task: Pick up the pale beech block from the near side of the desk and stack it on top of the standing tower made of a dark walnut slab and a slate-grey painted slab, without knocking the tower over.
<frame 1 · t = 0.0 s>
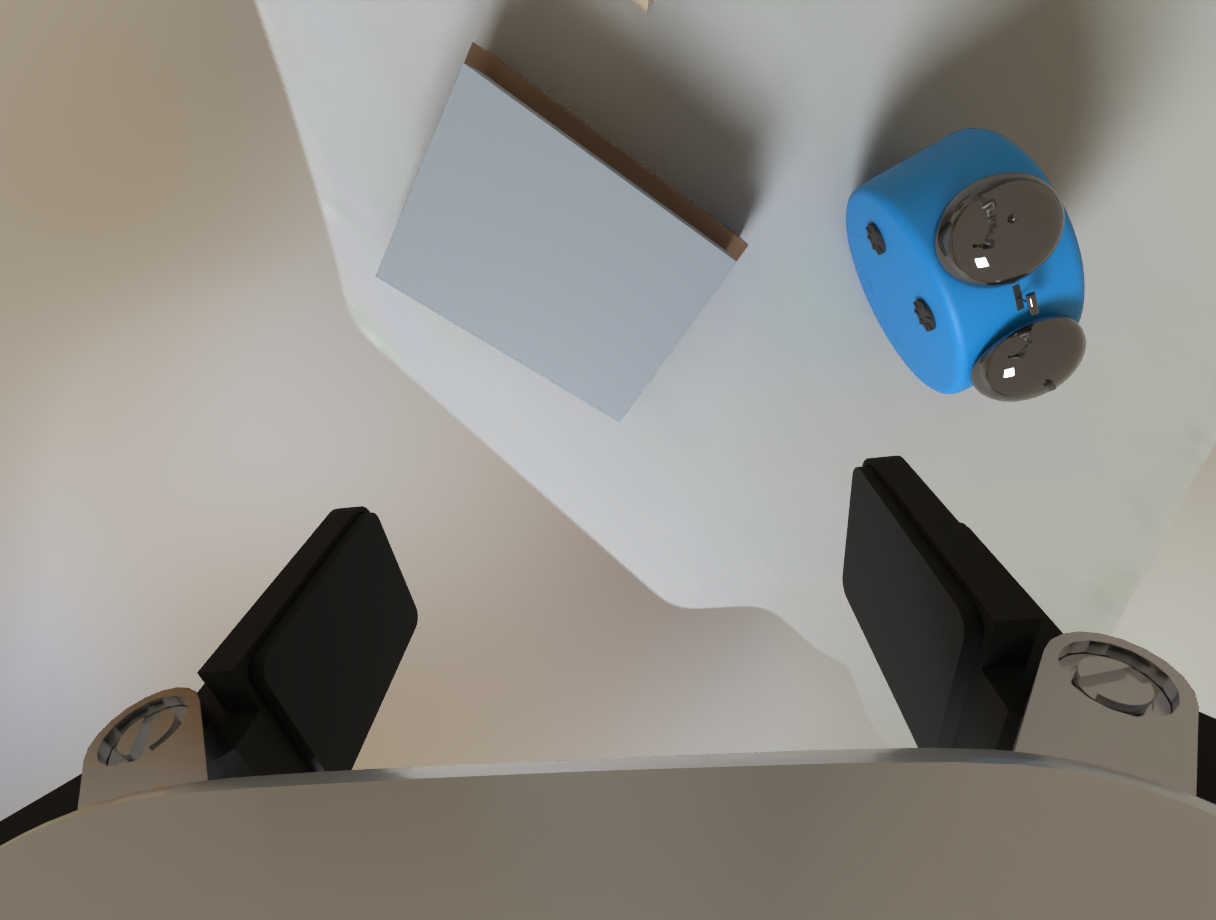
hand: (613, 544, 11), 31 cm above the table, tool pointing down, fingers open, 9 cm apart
walnut slab: (567, 247, 38), on the table, touching slate slab
slate slab: (560, 257, 35), point 3 cm above the table, touching walnut slab
alarm clock: (895, 251, 37), on the table
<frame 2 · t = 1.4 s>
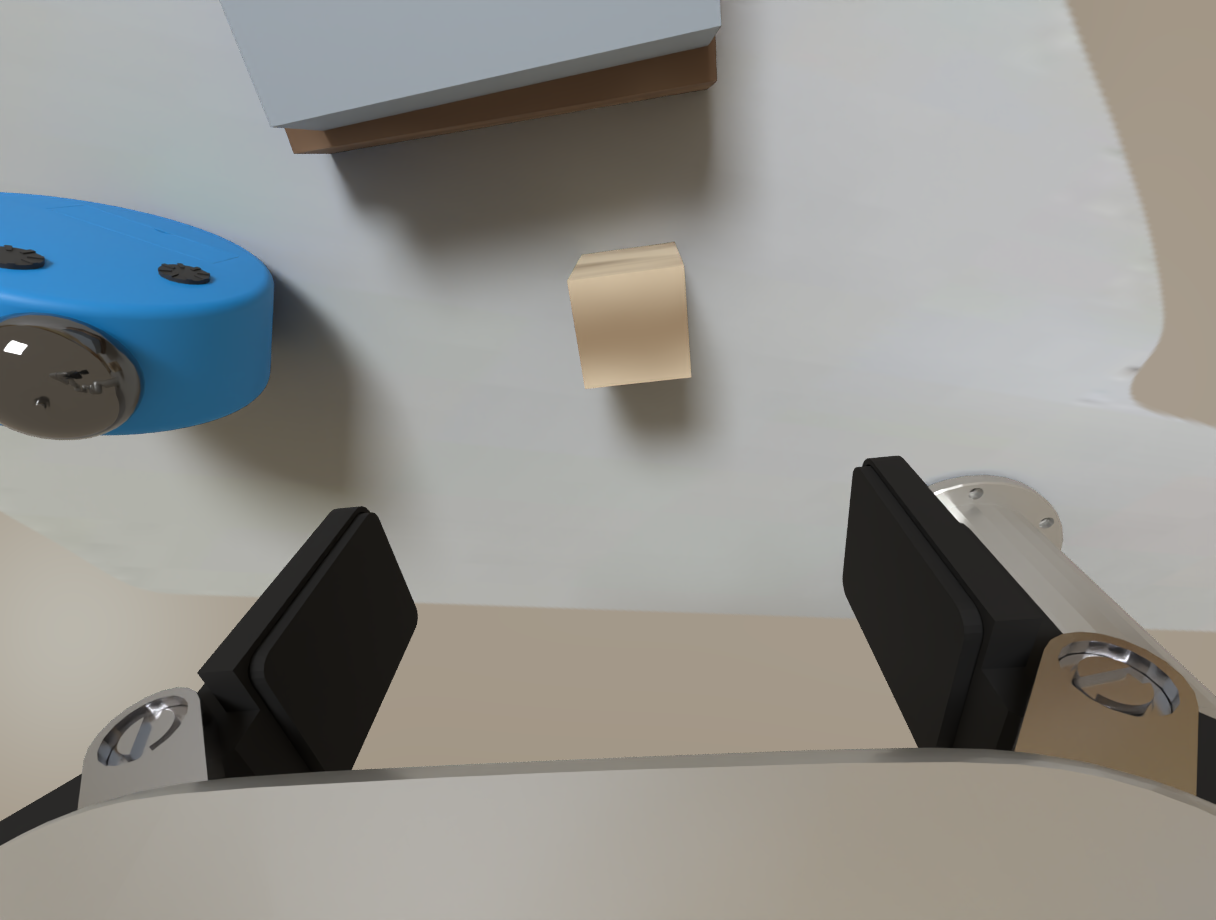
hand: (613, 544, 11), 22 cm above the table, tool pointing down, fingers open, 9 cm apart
alarm clock: (208, 277, 31), on the table
beech block: (632, 295, 30), on the table
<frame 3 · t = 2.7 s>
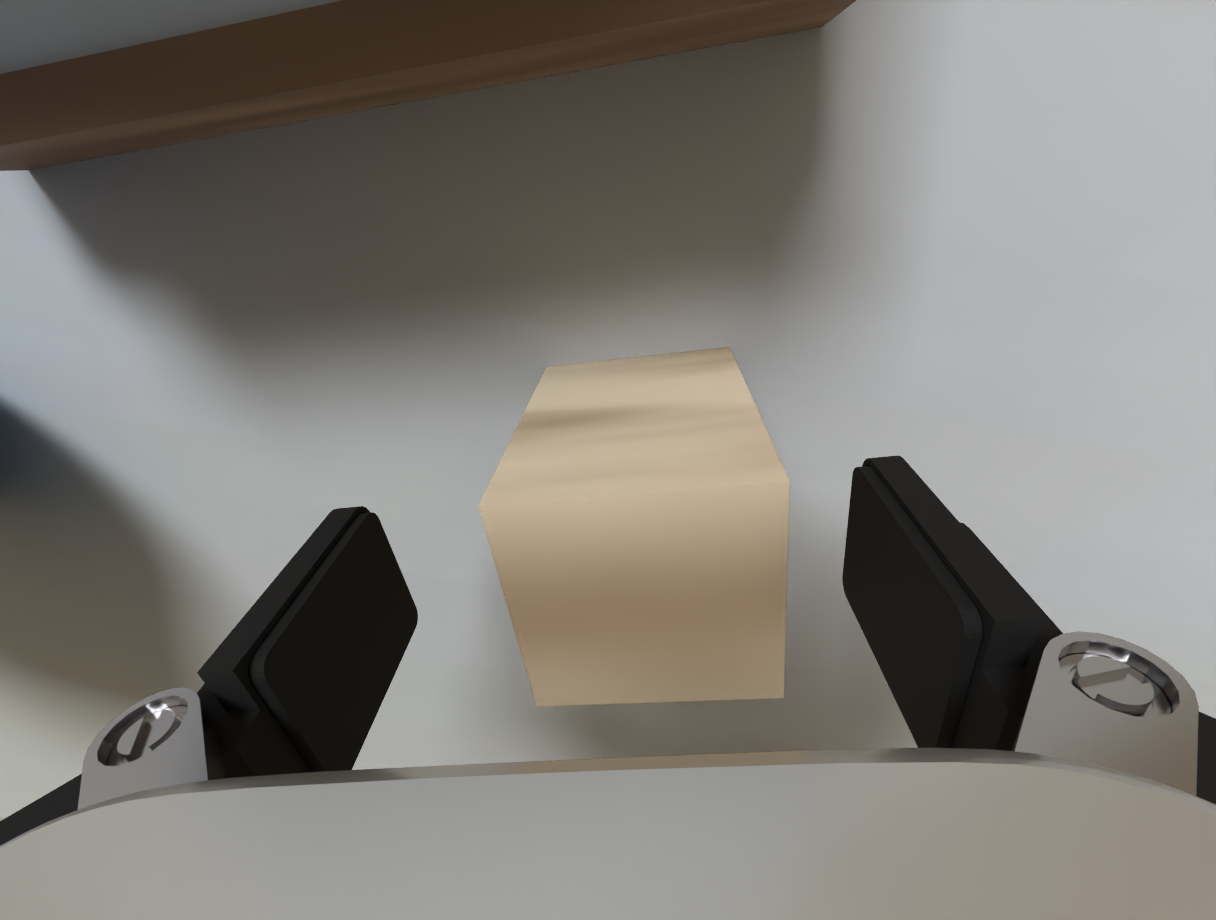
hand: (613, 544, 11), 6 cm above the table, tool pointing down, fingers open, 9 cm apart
beech block: (645, 438, 16), on the table
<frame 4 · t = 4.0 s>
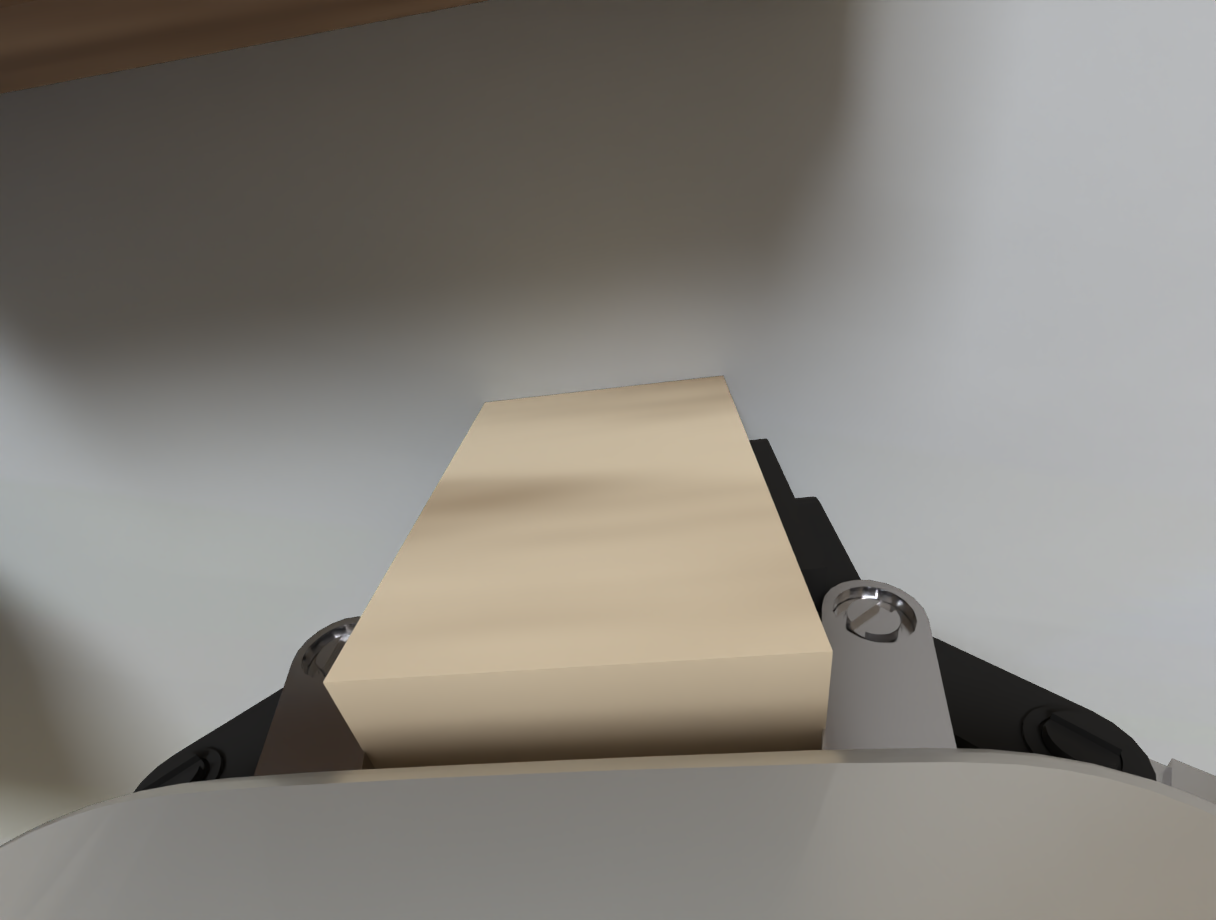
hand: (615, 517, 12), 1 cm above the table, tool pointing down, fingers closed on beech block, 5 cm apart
beech block: (616, 489, 13), on the table, touching gripper
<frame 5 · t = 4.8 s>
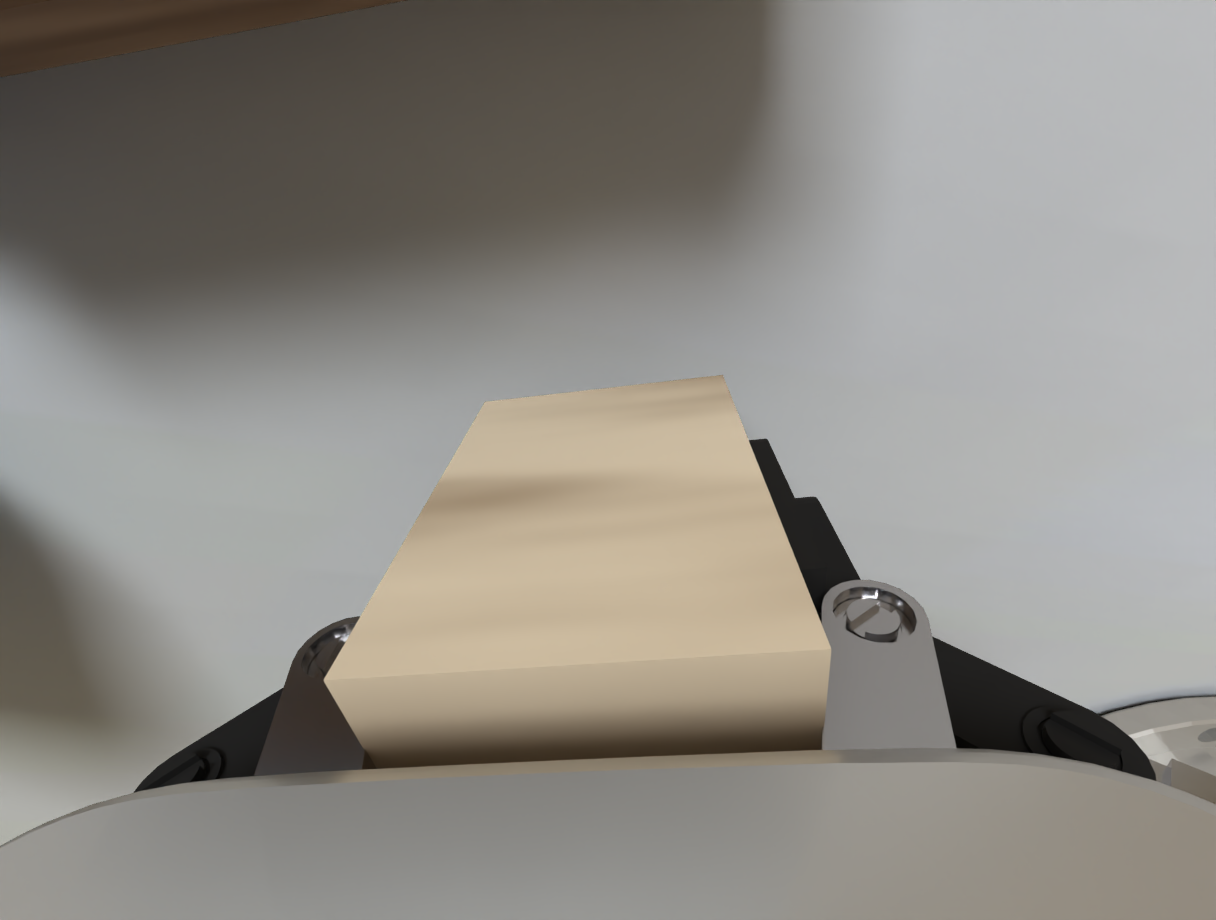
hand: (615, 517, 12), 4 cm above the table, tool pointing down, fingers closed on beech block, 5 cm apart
beech block: (616, 489, 13), point 2 cm above the table, touching gripper
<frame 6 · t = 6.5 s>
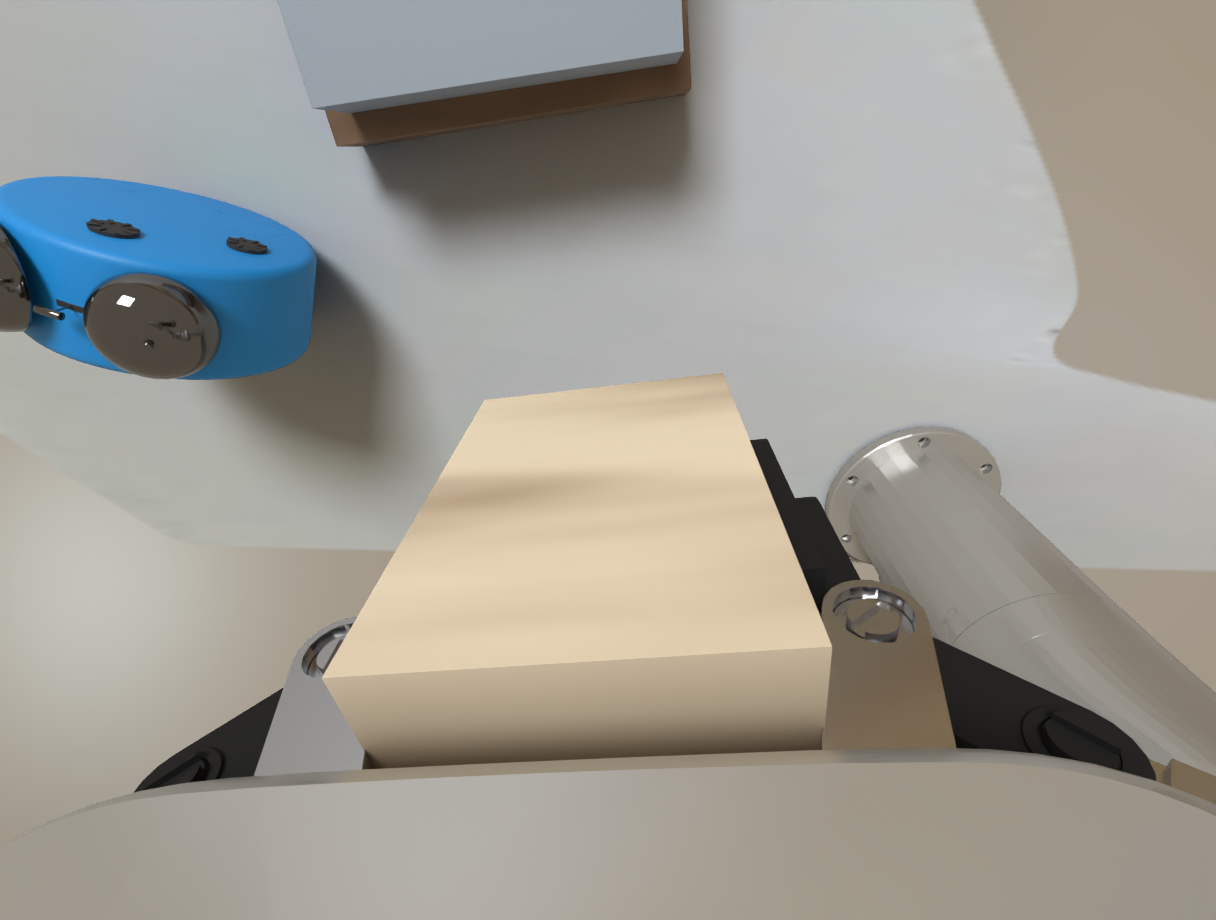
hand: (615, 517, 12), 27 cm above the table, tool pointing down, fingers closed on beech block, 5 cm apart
alarm clock: (253, 253, 36), on the table
beech block: (616, 487, 13), point 26 cm above the table, touching gripper
when the fingers open (10 cm above the table, at t = 10.3 s): beech block drops 2 cm, resting on slate slab.
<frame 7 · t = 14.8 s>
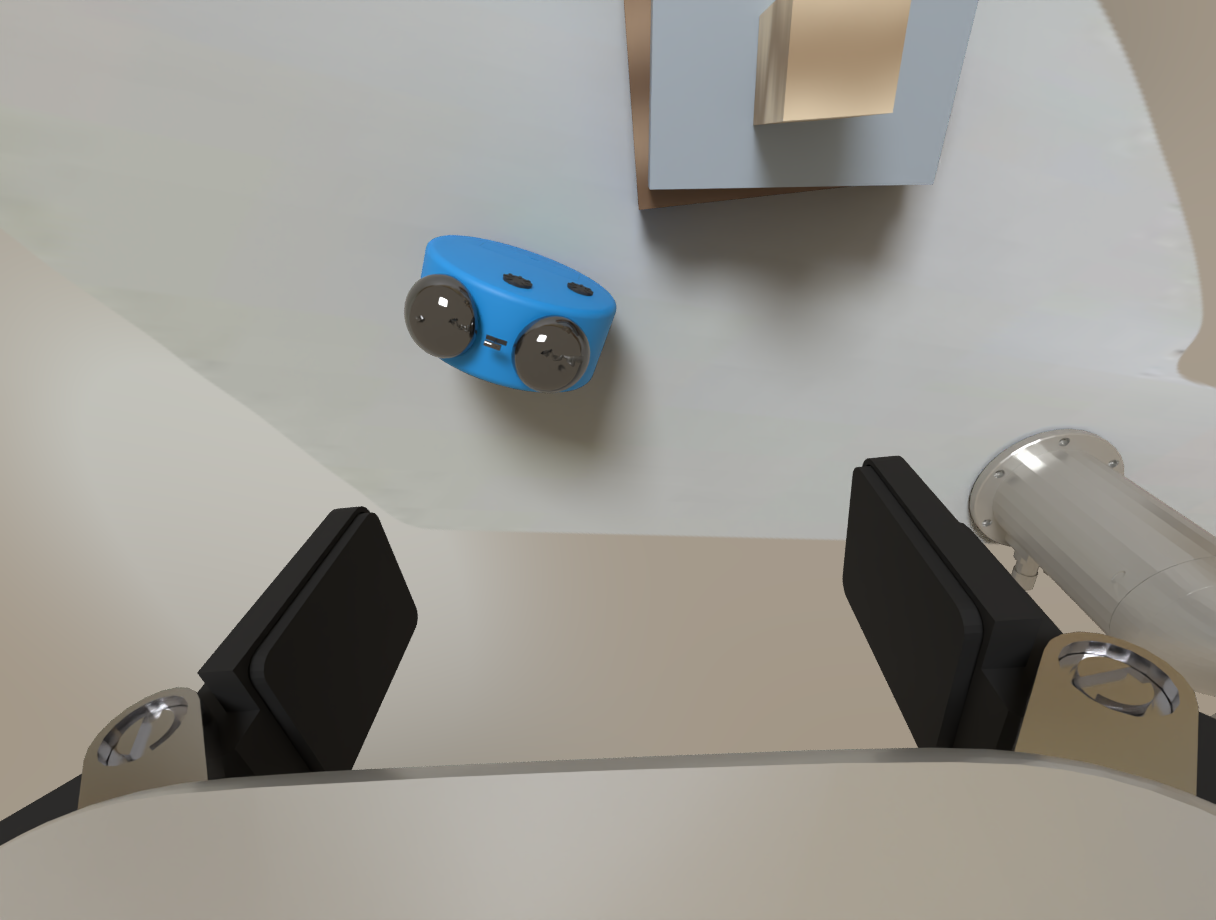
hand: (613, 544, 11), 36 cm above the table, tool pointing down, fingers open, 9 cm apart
walnut slab: (770, 76, 37), on the table, touching slate slab
slate slab: (787, 74, 34), point 3 cm above the table, touching beech block, walnut slab
alarm clock: (532, 288, 44), on the table
beech block: (801, 69, 30), point 7 cm above the table, touching slate slab
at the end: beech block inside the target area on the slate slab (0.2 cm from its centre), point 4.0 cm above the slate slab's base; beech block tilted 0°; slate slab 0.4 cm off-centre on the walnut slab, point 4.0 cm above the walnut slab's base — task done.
